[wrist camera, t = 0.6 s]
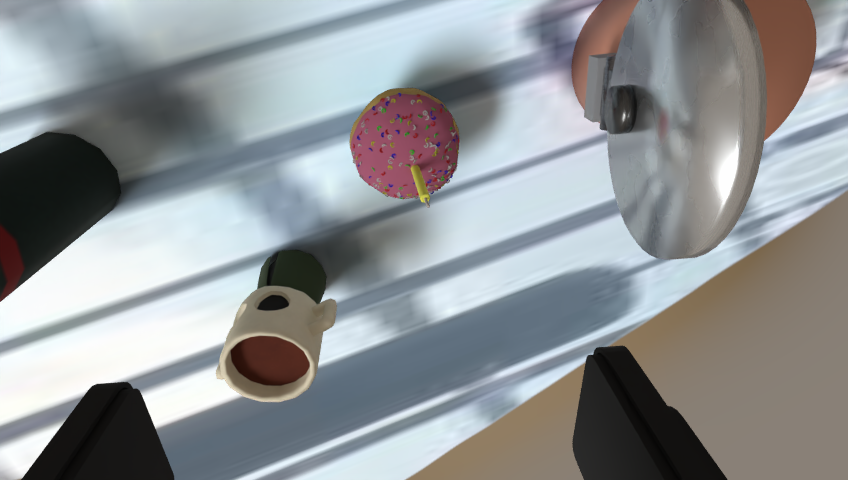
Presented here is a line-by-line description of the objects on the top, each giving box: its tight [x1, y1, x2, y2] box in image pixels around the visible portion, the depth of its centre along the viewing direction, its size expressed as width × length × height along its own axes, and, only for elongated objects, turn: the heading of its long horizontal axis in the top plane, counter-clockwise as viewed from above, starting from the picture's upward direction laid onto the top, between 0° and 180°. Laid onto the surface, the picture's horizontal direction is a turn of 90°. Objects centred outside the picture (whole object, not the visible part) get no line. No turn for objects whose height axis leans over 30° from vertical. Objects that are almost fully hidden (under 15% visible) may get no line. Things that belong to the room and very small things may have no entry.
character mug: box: [216, 250, 337, 402], centre depth 41 cm, size 11×7×13 cm, turn 117°
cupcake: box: [350, 88, 459, 208], centre depth 36 cm, size 9×8×12 cm
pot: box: [572, 0, 816, 141], centre depth 35 cm, size 18×14×10 cm
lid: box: [600, 0, 767, 260], centre depth 24 cm, size 13×15×2 cm
